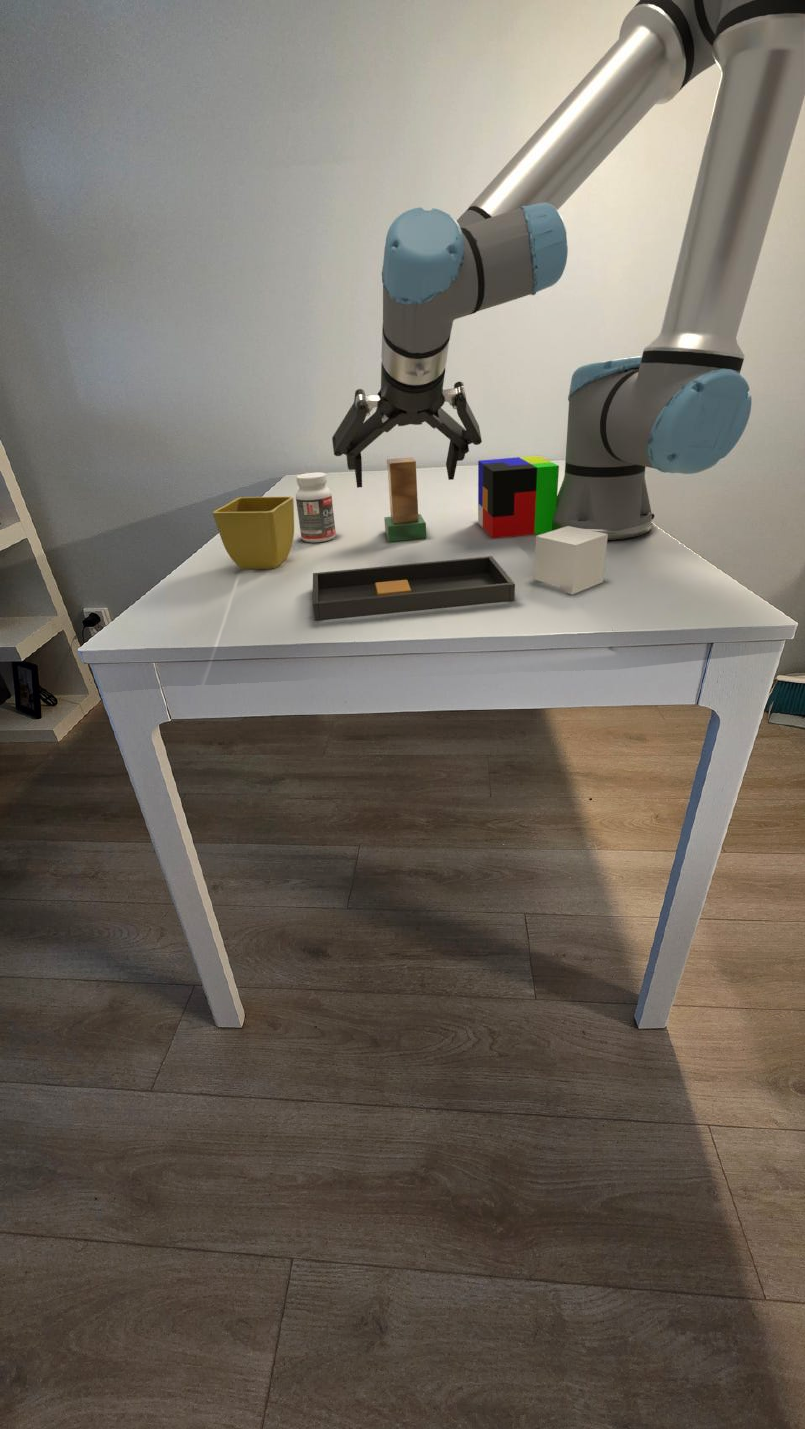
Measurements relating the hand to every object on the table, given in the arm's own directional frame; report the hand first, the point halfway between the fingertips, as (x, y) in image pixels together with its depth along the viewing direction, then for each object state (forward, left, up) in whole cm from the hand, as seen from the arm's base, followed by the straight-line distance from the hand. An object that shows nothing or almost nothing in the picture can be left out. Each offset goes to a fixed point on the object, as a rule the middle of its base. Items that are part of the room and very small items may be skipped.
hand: (404, 475), depth 95 cm
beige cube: (-17, +24, -10) cm, 31 cm away
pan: (+3, +24, -10) cm, 26 cm away
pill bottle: (+14, -8, -10) cm, 19 cm away
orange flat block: (+5, +24, -9) cm, 26 cm away
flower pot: (+22, +5, -10) cm, 25 cm away
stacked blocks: (0, -5, -10) cm, 11 cm away
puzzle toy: (-18, -4, -10) cm, 21 cm away
